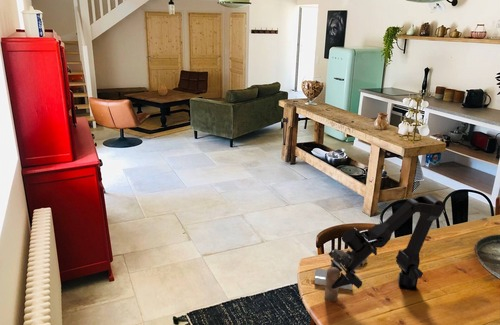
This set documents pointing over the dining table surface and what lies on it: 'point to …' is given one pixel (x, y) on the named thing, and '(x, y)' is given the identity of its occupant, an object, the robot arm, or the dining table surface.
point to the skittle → (331, 278)
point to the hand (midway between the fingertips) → (329, 283)
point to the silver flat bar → (323, 282)
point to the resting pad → (320, 273)
